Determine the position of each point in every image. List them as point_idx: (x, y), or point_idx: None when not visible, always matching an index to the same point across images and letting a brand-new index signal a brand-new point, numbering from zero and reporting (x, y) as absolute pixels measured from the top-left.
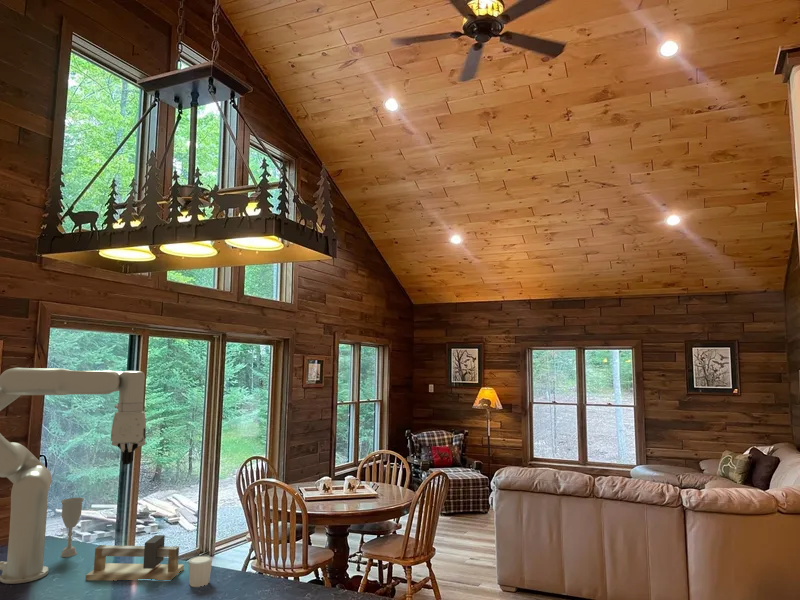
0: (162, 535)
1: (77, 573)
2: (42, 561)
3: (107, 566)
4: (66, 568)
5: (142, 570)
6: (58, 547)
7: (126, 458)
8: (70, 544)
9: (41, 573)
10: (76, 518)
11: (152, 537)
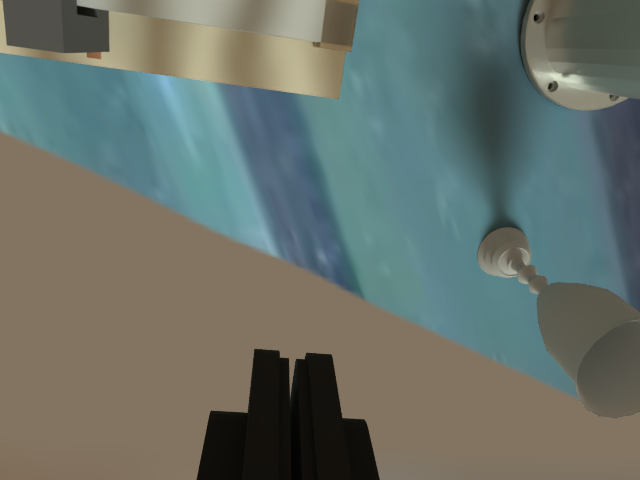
0: (18, 43)
1: (413, 45)
2: (566, 33)
3: (307, 56)
4: (469, 106)
5: None
6: None
7: (273, 409)
8: (515, 264)
9: (540, 8)
10: (549, 304)
11: (58, 5)
